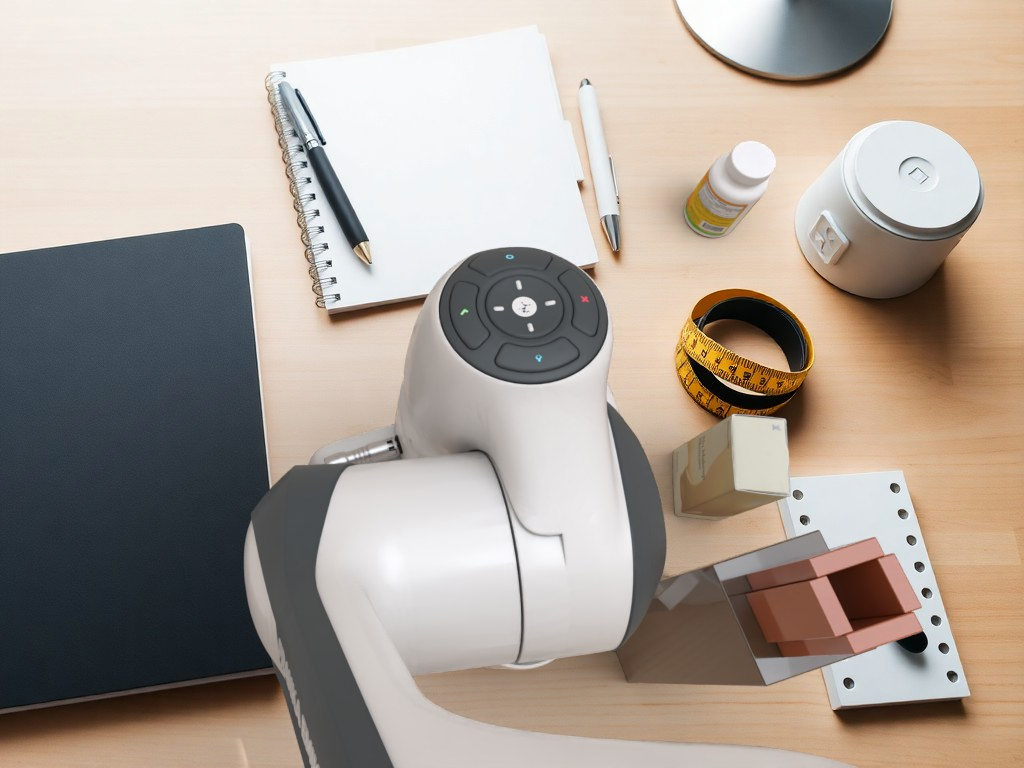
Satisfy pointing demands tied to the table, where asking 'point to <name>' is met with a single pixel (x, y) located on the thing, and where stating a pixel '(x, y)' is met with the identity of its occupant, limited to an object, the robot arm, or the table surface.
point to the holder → (771, 614)
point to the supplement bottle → (730, 189)
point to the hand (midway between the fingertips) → (444, 475)
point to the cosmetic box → (732, 468)
